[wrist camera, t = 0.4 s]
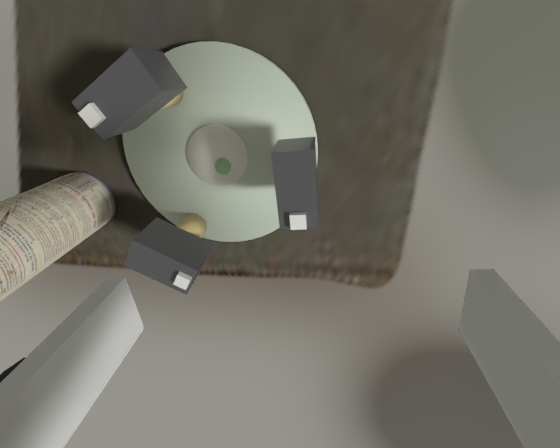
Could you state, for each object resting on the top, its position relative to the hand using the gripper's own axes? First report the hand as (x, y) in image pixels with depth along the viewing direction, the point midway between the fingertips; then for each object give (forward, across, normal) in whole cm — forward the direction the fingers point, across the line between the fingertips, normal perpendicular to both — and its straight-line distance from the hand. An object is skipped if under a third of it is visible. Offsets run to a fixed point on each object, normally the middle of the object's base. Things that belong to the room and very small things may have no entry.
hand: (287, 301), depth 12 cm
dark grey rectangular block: (+20, -12, +8) cm, 25 cm away
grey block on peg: (+20, 0, 0) cm, 20 cm away
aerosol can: (+22, -26, -3) cm, 34 cm away
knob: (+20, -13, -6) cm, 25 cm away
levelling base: (+22, -8, +2) cm, 23 cm away
